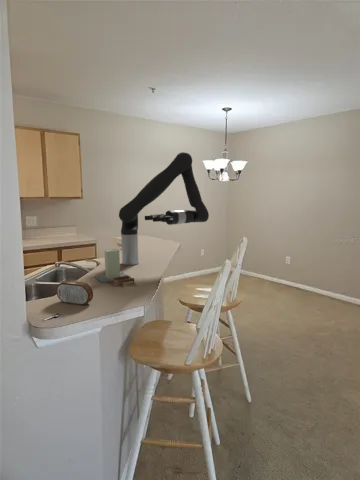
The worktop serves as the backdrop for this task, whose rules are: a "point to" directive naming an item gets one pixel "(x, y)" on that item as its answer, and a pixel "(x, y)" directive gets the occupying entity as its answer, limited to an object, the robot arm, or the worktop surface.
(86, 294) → the tin
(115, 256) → the sage green upright pillar
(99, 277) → the mat
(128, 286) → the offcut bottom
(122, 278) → the rack
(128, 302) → the worktop surface
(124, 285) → the offcut top
